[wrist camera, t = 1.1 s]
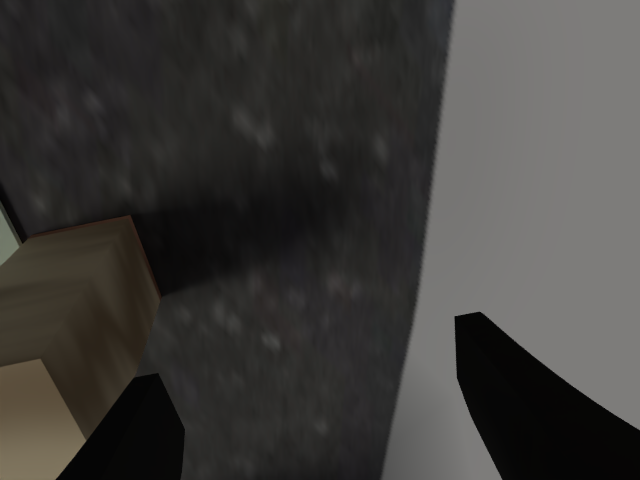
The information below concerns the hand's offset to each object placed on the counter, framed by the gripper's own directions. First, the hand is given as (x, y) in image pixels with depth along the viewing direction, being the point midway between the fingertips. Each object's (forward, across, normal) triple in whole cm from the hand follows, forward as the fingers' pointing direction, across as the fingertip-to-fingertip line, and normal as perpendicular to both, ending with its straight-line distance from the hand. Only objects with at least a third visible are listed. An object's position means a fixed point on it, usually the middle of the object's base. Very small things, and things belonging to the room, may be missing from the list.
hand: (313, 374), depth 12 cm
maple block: (+12, +10, +2) cm, 15 cm away
